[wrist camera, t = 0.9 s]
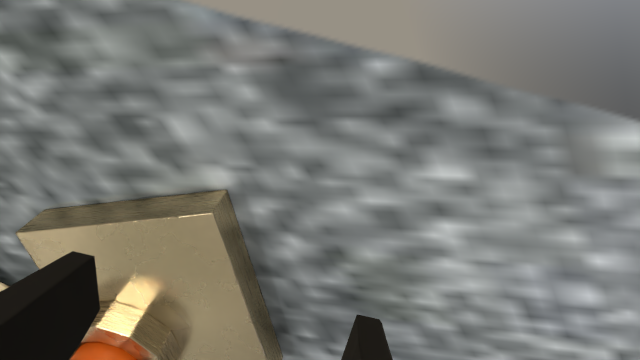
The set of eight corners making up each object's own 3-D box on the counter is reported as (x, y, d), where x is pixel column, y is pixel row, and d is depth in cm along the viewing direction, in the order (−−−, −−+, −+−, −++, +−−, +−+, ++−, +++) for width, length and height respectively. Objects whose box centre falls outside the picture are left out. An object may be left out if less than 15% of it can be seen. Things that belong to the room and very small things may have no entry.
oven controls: (283, 356, 27) (270, 416, 23) (122, 362, 29) (89, 417, 26) (227, 188, 21) (198, 235, 17) (29, 211, 23) (-31, 256, 20)
